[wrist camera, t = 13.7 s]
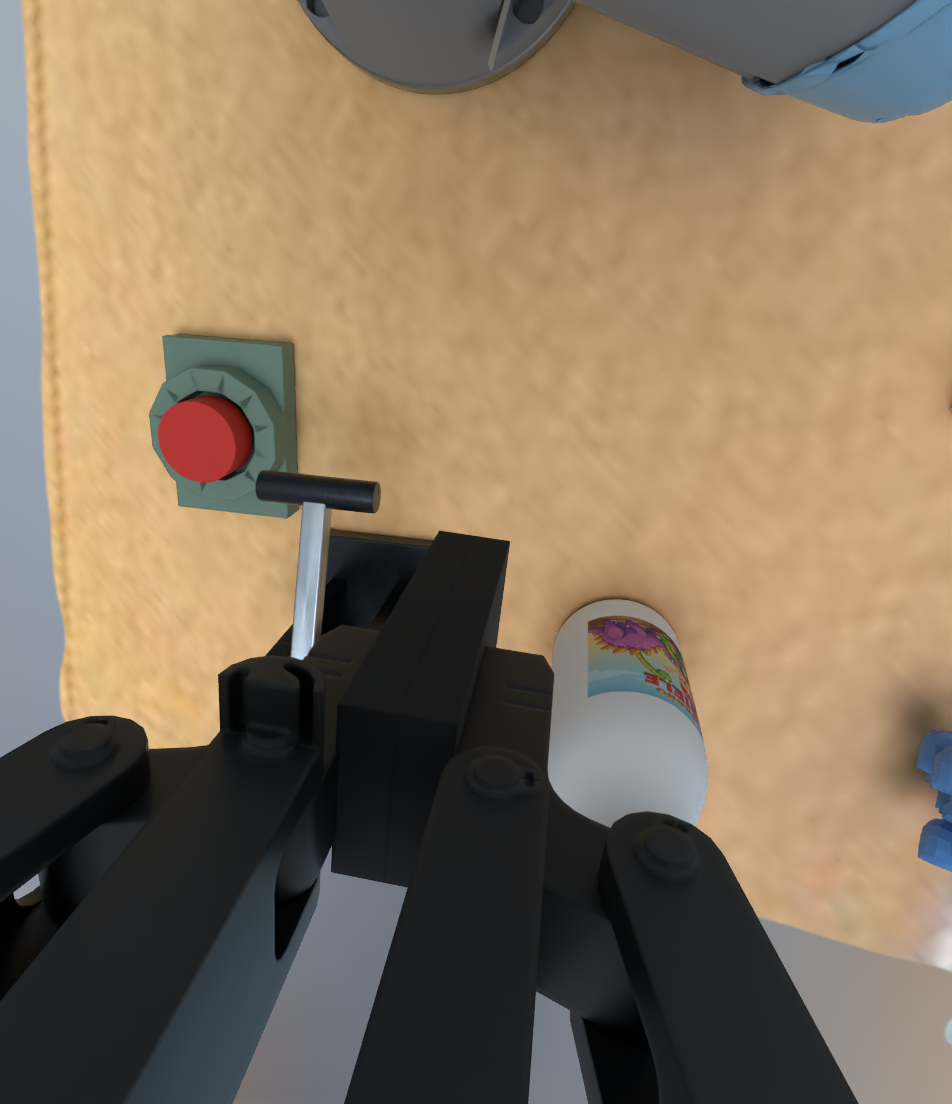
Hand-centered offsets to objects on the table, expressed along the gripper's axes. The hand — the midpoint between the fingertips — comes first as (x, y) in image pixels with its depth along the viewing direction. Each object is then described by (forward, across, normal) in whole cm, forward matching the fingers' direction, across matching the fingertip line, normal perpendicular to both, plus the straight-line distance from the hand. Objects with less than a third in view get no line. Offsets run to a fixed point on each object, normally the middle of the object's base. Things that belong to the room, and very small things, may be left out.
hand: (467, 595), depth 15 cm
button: (+23, -18, -4) cm, 29 cm away
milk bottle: (+26, +7, -14) cm, 31 cm away
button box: (+26, -18, -4) cm, 32 cm away
